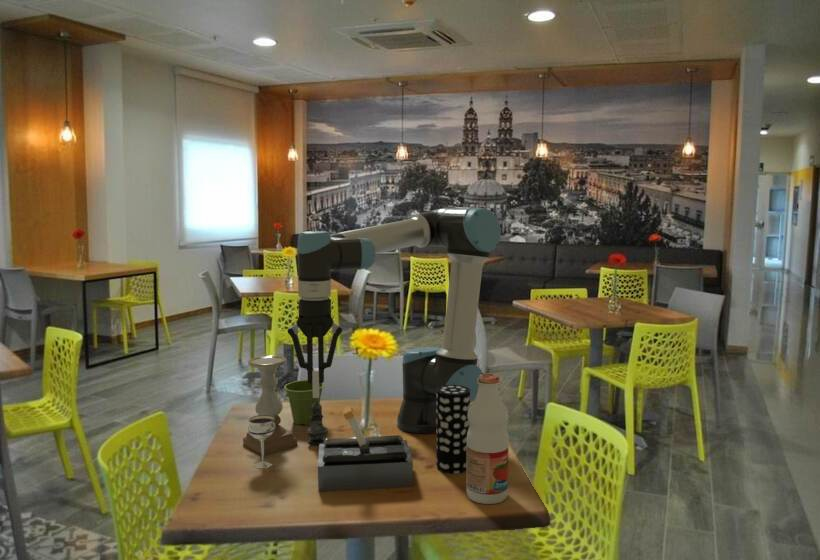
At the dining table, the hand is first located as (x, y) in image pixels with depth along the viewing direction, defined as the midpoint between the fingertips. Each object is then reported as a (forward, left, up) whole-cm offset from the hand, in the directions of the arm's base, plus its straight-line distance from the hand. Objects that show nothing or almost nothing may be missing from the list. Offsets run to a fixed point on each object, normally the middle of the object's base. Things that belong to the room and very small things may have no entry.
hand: (316, 396), depth 158 cm
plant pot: (-23, -35, -21) cm, 47 cm away
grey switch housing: (-9, +7, -21) cm, 23 cm away
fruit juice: (-21, +35, -21) cm, 46 cm away
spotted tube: (-28, +19, -21) cm, 40 cm away
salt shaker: (-15, -19, -21) cm, 32 cm away
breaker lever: (-9, +7, -14) cm, 18 cm away
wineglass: (+4, -17, -21) cm, 27 cm away
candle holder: (-5, -27, -21) cm, 34 cm away
